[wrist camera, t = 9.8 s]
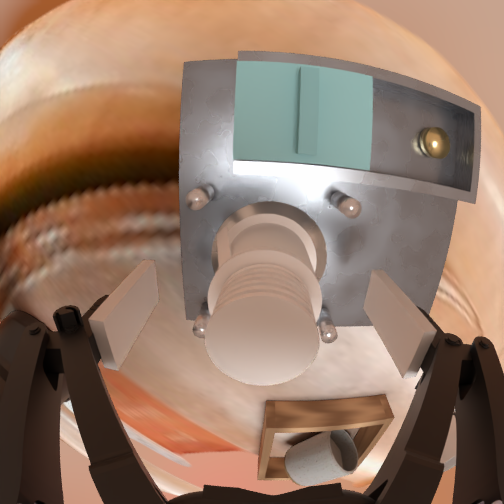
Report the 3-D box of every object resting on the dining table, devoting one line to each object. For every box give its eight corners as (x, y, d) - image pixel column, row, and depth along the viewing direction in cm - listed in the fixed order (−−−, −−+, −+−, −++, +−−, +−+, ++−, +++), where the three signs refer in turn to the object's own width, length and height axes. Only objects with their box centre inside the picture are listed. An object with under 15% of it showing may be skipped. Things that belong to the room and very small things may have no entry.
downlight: (338, 267, 20) (384, 351, 10) (269, 322, 22) (265, 423, 12) (264, 186, 18) (254, 210, 9) (195, 253, 20) (137, 327, 11)
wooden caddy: (258, 459, 34) (257, 480, 30) (266, 400, 28) (266, 428, 24) (348, 455, 34) (351, 473, 30) (385, 394, 28) (394, 417, 24)
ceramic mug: (278, 442, 32) (280, 487, 24) (325, 418, 29) (334, 467, 22) (322, 457, 34) (327, 495, 27) (364, 437, 32) (374, 476, 25)
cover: (235, 158, 16) (230, 159, 14) (239, 68, 14) (235, 55, 12) (361, 168, 16) (376, 171, 14) (364, 81, 14) (378, 72, 12)
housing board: (191, 307, 24) (177, 341, 19) (191, 69, 17) (171, 48, 12) (417, 311, 23) (439, 340, 19) (449, 106, 16) (484, 102, 12)
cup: (463, 403, 30) (484, 443, 21) (430, 432, 33) (446, 472, 23) (445, 397, 29) (469, 444, 19) (407, 429, 31) (425, 475, 22)
